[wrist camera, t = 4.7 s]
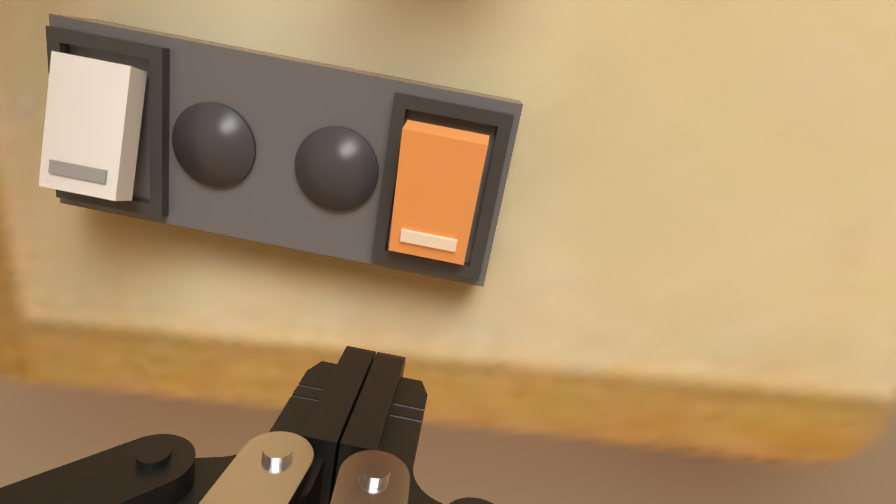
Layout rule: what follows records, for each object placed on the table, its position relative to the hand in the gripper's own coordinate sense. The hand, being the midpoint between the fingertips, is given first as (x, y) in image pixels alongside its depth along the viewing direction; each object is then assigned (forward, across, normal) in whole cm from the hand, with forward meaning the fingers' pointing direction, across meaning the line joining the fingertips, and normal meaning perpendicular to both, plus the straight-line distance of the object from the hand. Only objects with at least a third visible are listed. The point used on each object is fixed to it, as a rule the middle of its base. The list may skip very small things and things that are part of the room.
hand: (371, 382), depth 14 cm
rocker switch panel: (+17, +8, -2) cm, 19 cm away
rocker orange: (+12, 0, -2) cm, 12 cm away
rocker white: (+12, +16, -2) cm, 20 cm away
